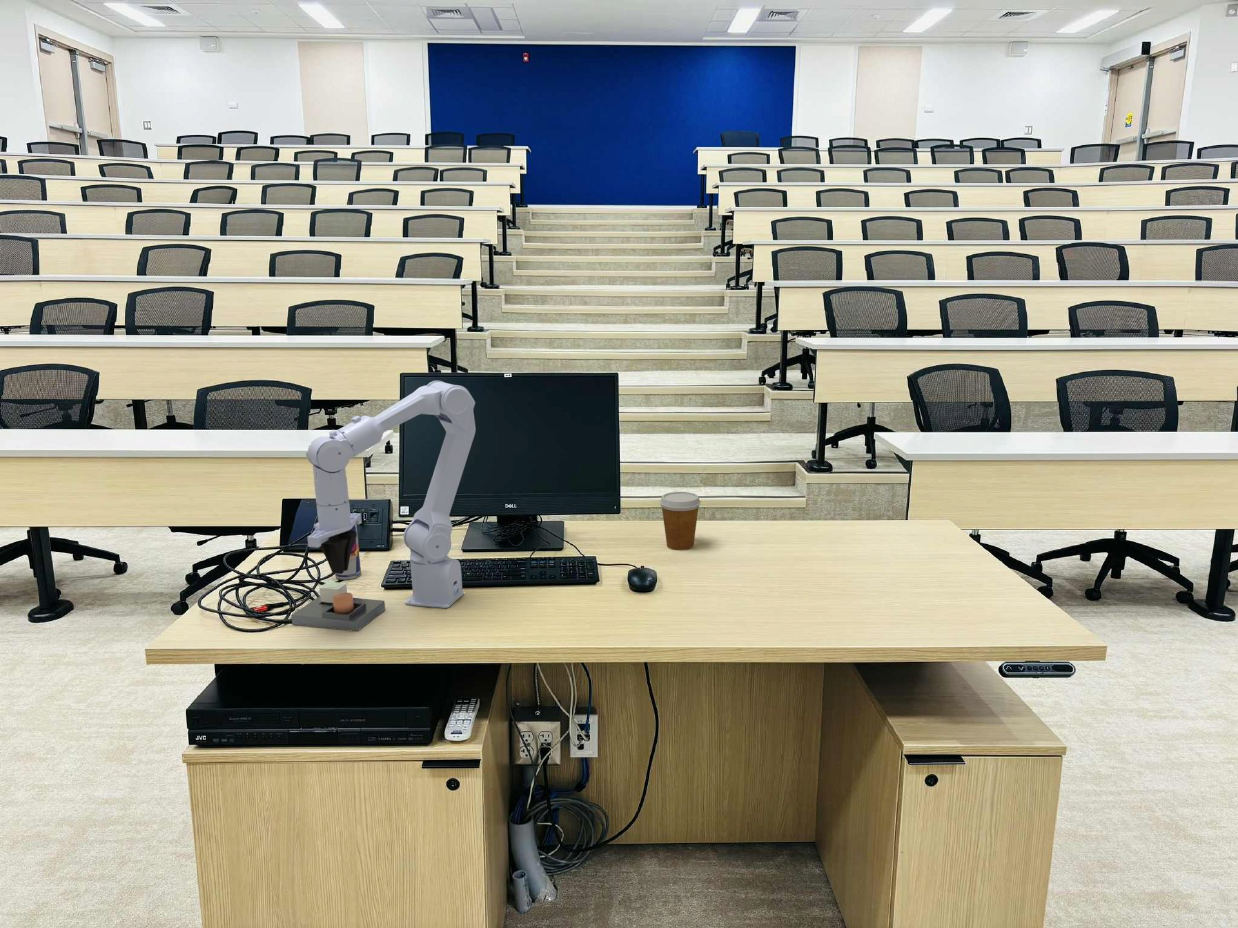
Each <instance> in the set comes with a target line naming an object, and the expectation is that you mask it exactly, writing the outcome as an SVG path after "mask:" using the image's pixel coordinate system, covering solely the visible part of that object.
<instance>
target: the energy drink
mask: <svg viewBox="0 0 1238 928" xmlns="http://www.w3.org/2000/svg"><path fill="white" fill-rule="evenodd" d="M357 528H358V527H357V524H356V525H354V526H353V527H352V529H350V530H349V531H356V532H357V533H358V529H357ZM360 558H361V557H360V547H359V537H358V535H357V537H356V539H355V541H354V543H353V546H352V549H351V554H350V559H349V566H348V570H347V571H344V573H342V574H337V573H334V574H335V575H334V576H335V578H337V580H341V581H348V580H349V581H350V580H354V579H356V578H359V577H360V576H361V574H362V569H361V568H362V567H361V559H360Z"/></svg>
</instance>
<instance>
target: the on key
mask: <svg viewBox="0 0 1238 928" xmlns="http://www.w3.org/2000/svg"><path fill="white" fill-rule="evenodd" d="M347 589H348V588H347V582H346V583H345V582H335V581H327V582H325V583H324V584H322V585H321V586H320V587H319V596H320V597H321V602H329V603H333V596H334V595H336V594H339V593H348V590H347Z"/></svg>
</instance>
